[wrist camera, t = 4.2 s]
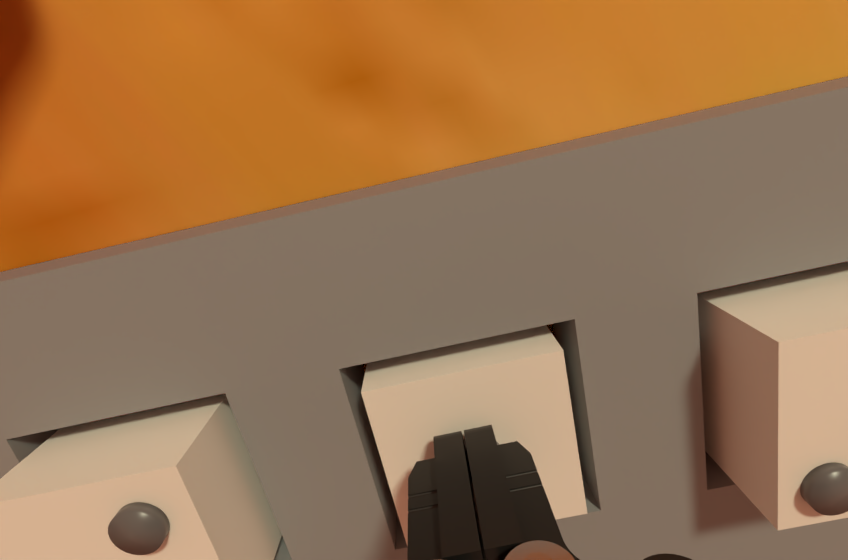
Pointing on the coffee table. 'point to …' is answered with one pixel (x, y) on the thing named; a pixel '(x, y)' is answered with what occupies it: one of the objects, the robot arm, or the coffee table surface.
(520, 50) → the coffee table surface
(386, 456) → the one pip tile
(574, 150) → the button board
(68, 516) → the two pip tile
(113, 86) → the coffee table surface
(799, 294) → the three pip tile
